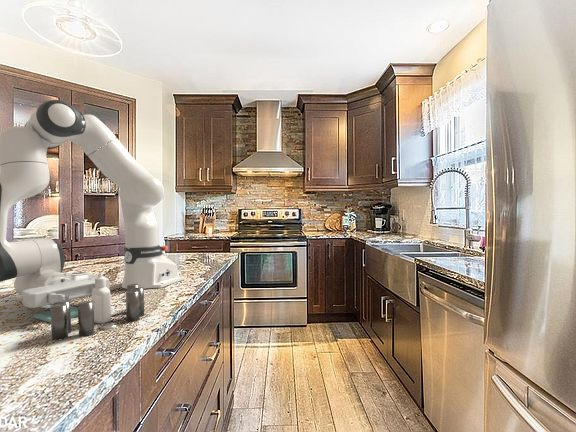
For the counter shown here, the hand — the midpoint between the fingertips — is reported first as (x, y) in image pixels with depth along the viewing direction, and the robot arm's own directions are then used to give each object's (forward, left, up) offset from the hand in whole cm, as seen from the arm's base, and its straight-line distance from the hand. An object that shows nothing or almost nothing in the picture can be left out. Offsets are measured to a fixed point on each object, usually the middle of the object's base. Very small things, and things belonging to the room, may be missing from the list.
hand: (85, 294), depth 87 cm
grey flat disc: (+2, +12, -6) cm, 14 cm away
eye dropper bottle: (0, +6, -6) cm, 9 cm away
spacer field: (+1, +10, -6) cm, 11 cm away
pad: (+2, -8, -6) cm, 10 cm away
